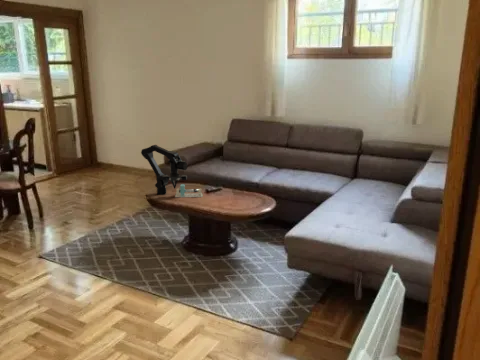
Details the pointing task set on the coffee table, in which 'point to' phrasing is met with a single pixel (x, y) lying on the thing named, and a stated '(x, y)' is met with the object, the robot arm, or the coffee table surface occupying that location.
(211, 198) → the coffee table surface
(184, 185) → the collar
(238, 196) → the coffee table surface
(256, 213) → the coffee table surface
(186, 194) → the pipe rig
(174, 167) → the robot arm
